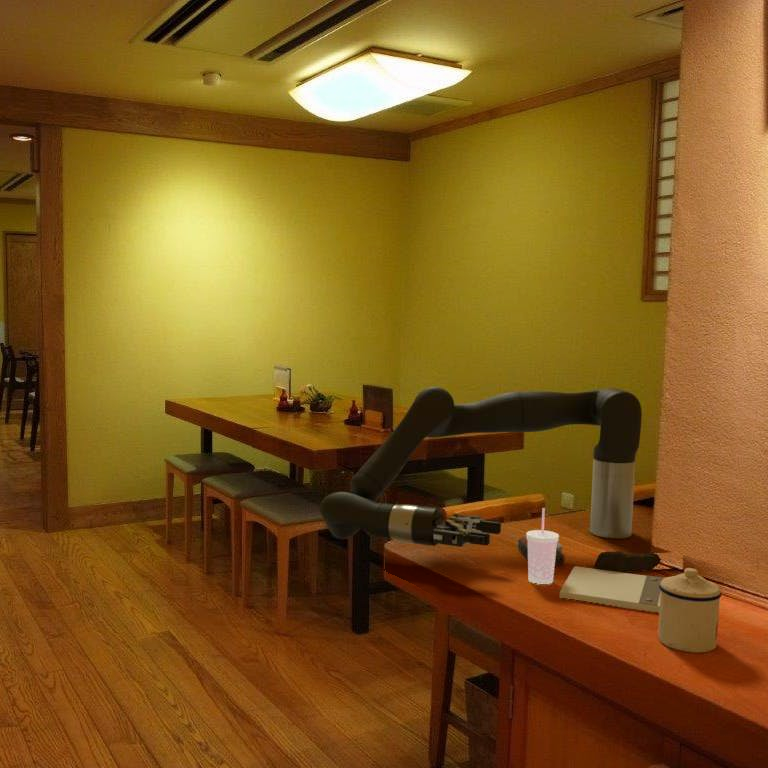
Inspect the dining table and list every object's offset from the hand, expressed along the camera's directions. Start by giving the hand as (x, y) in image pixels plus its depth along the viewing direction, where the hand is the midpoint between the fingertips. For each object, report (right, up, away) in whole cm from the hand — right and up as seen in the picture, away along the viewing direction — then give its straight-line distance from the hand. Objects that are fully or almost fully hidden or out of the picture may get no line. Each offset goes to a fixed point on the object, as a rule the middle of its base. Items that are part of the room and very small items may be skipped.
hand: (495, 533), depth 161 cm
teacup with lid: (+26, -12, -29) cm, 40 cm away
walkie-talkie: (+12, -7, +16) cm, 21 cm away
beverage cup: (+8, -9, -3) cm, 12 cm away
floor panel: (+24, -9, -9) cm, 27 cm away
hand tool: (+29, -9, +4) cm, 30 cm away
